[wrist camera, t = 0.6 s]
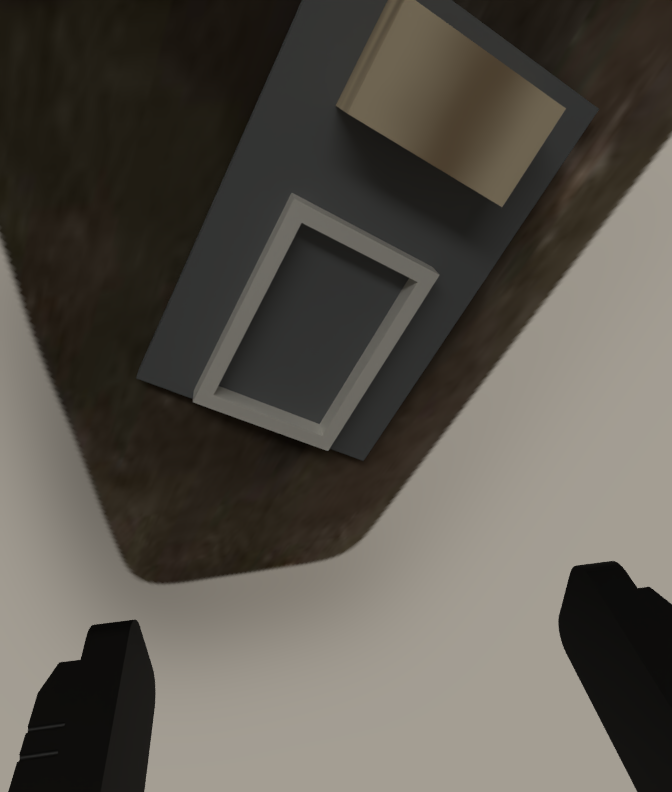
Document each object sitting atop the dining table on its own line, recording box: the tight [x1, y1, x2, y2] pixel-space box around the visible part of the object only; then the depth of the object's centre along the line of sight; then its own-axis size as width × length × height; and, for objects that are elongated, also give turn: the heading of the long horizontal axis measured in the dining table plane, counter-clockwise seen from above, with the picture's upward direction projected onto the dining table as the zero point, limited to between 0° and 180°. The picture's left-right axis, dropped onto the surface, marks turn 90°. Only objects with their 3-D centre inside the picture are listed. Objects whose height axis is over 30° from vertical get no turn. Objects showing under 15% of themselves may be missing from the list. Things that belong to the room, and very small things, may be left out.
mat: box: [137, 0, 599, 461], centre depth 30 cm, size 22×14×1 cm, turn 151°
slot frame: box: [193, 193, 439, 451], centre depth 31 cm, size 12×8×1 cm
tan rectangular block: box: [336, 0, 566, 207], centre depth 26 cm, size 8×4×3 cm, turn 61°
